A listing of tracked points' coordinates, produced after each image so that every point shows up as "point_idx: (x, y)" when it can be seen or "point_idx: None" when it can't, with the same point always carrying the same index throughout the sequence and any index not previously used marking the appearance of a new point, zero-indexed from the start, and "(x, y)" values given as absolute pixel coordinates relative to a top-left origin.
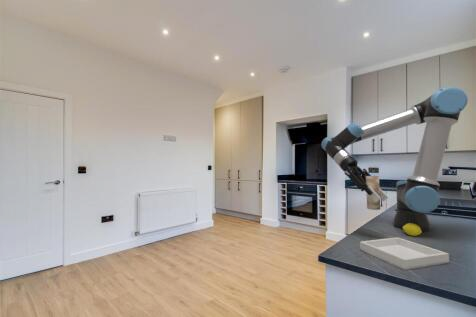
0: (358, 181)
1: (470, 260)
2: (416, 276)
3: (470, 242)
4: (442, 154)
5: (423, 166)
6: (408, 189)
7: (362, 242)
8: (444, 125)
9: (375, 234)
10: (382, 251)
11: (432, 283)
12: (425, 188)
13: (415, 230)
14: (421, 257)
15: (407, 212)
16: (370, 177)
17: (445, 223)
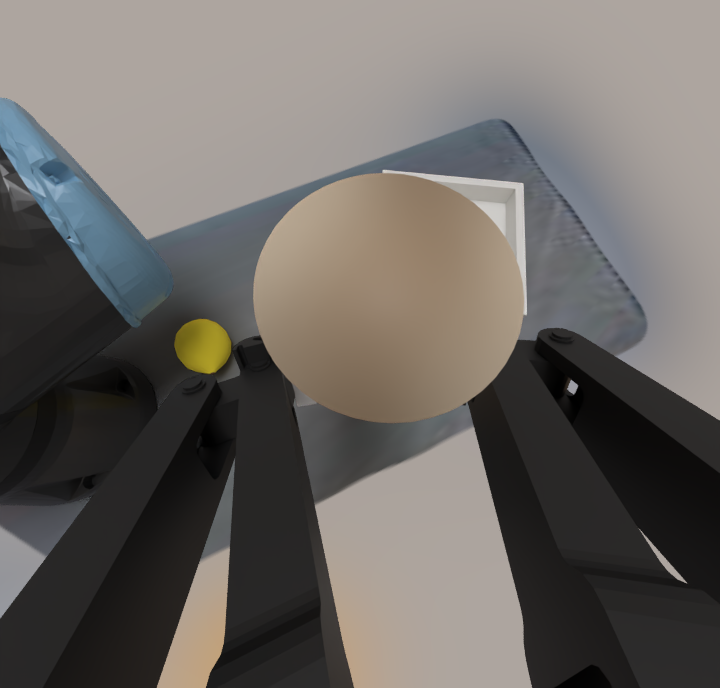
0: (640, 384)
1: (319, 180)
2: (514, 178)
3: (151, 239)
4: None
5: None
6: (25, 248)
7: (524, 305)
8: None
9: (322, 418)
10: (523, 238)
11: (512, 155)
12: (30, 119)
13: (218, 325)
14: (471, 178)
15: (63, 406)
16: (496, 250)
17: None
